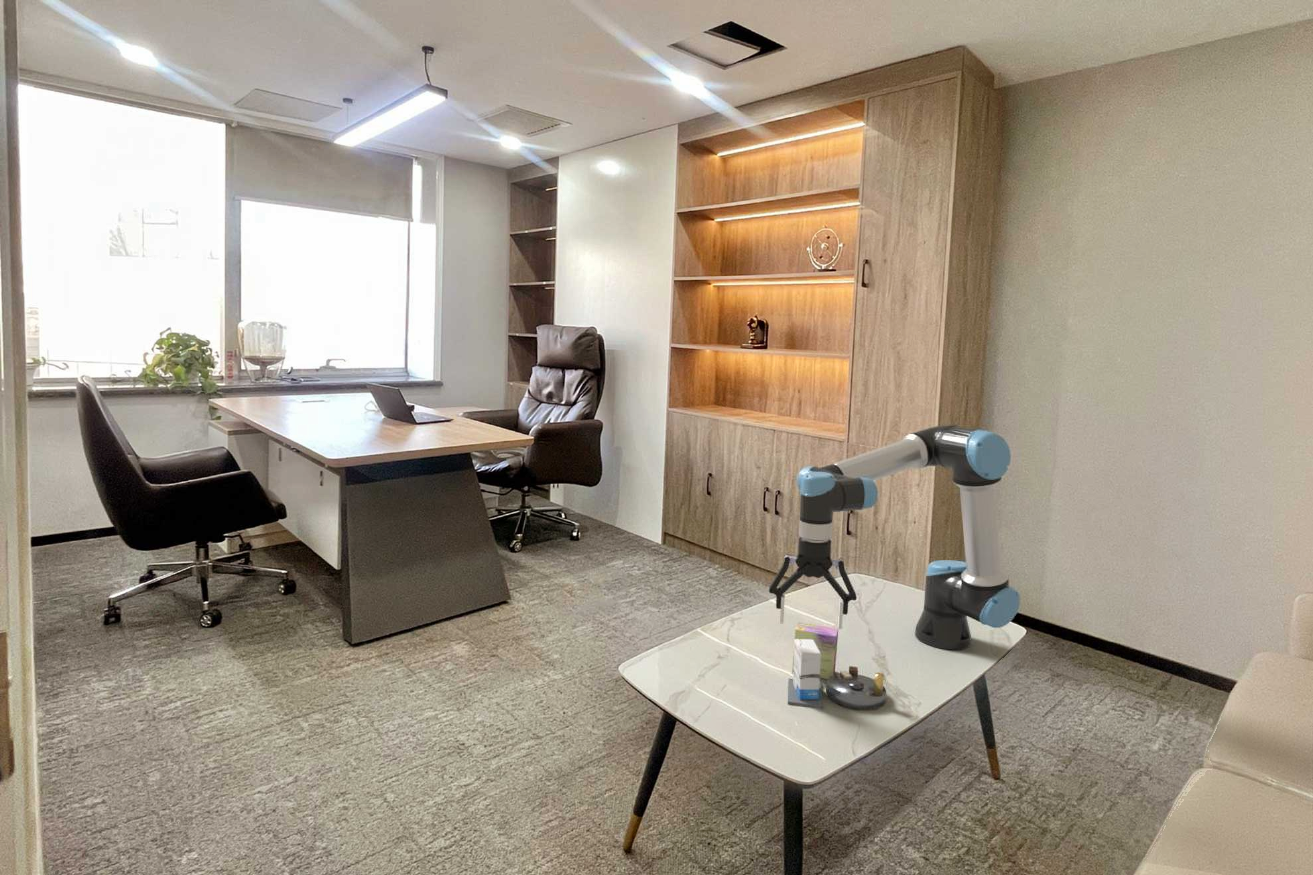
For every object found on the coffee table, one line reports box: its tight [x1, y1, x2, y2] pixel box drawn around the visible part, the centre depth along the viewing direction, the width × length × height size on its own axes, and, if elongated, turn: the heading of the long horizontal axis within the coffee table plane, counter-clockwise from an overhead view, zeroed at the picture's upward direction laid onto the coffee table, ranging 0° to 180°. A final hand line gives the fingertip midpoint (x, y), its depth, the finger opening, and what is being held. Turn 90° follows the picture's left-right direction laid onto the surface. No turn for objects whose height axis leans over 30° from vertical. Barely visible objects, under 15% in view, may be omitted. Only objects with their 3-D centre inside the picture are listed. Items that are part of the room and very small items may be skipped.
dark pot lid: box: [825, 670, 887, 710], centre depth 178 cm, size 14×14×7 cm
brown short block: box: [848, 665, 859, 675], centre depth 186 cm, size 2×2×3 cm
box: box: [791, 621, 839, 680], centre depth 189 cm, size 10×6×12 cm, turn 71°
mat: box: [787, 678, 824, 709], centre depth 178 cm, size 8×12×1 cm, turn 169°
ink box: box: [792, 638, 821, 700], centre depth 177 cm, size 9×5×12 cm, turn 1°
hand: (810, 624), depth 176 cm, fingers open, 13 cm apart
